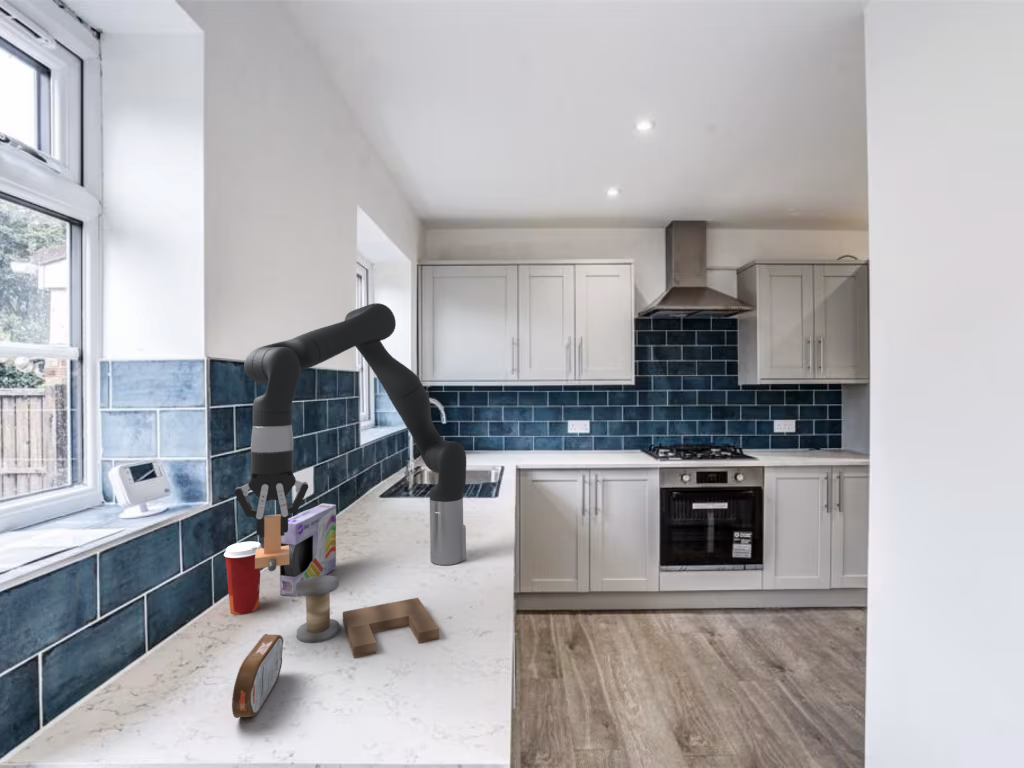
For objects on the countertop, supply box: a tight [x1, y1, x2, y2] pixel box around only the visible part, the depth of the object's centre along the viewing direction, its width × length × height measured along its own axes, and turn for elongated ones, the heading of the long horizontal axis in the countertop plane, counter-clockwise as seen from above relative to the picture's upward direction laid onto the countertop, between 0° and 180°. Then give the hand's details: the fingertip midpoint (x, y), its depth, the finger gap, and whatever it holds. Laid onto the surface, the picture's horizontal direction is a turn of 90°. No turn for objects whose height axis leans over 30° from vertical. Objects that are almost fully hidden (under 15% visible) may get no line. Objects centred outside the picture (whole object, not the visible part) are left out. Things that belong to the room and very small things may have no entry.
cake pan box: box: [279, 503, 337, 597], centre depth 130 cm, size 19×5×18 cm, turn 168°
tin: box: [231, 633, 284, 719], centre depth 82 cm, size 15×3×8 cm, turn 6°
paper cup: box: [223, 541, 263, 616], centre depth 115 cm, size 8×8×14 cm
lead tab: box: [255, 513, 289, 572], centre depth 101 cm, size 6×10×9 cm, turn 24°
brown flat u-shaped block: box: [342, 597, 440, 659], centre depth 105 cm, size 16×16×2 cm
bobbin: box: [296, 574, 341, 644], centre depth 104 cm, size 8×8×10 cm
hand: (272, 535), depth 103 cm, fingers closed on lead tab, 3 cm apart
